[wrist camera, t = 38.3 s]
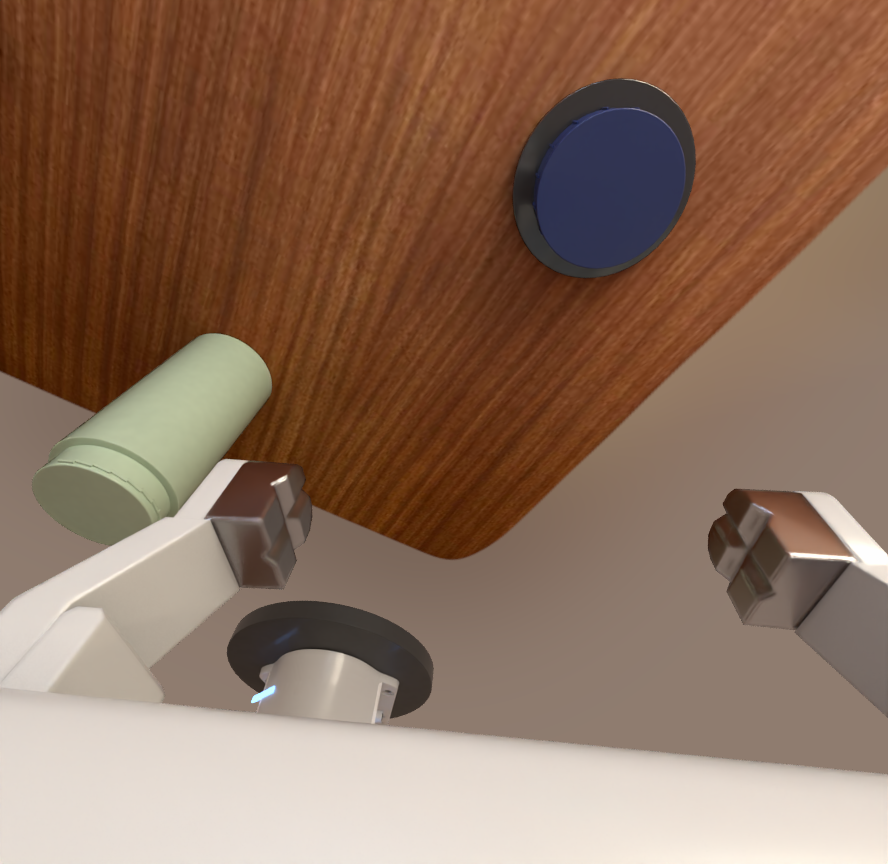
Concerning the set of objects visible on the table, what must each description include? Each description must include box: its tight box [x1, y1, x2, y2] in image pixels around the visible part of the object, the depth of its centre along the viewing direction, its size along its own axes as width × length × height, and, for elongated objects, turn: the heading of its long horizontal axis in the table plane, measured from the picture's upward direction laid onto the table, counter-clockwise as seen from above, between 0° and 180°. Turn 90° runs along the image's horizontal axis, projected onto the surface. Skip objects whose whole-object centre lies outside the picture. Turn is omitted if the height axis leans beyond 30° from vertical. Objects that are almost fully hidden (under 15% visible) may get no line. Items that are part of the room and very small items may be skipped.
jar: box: [32, 333, 272, 546], centre depth 27 cm, size 6×6×14 cm
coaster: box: [513, 78, 696, 278], centre depth 23 cm, size 9×9×1 cm
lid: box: [532, 107, 686, 269], centre depth 22 cm, size 7×7×2 cm
